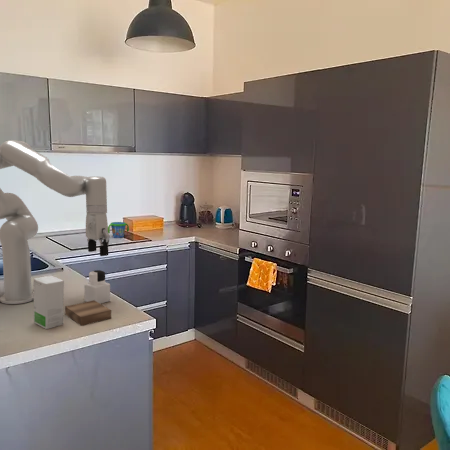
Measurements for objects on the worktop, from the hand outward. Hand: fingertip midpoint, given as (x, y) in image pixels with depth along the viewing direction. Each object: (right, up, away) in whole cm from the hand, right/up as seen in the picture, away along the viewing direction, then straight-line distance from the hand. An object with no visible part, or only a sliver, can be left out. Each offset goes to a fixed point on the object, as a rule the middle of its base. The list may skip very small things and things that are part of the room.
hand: (98, 253), depth 165 cm
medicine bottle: (-1, -19, +3) cm, 19 cm away
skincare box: (-10, -22, -21) cm, 32 cm away
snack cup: (-26, +2, +136) cm, 138 cm away
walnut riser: (0, -21, -13) cm, 25 cm away
